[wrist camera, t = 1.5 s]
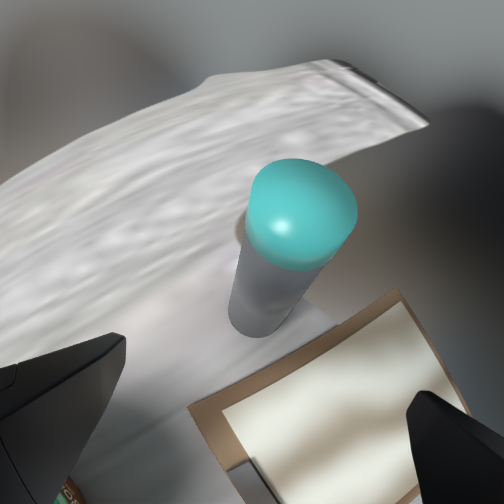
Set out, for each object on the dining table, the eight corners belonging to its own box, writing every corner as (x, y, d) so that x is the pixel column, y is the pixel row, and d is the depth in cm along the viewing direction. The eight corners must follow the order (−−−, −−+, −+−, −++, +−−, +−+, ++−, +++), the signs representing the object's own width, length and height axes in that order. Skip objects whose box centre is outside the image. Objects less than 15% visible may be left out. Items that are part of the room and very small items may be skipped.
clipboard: (474, 429, 20) (484, 427, 18) (301, 573, 13) (306, 580, 12) (392, 289, 26) (401, 282, 24) (187, 407, 19) (185, 406, 18)
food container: (142, 511, 15) (99, 568, 6) (106, 560, 12) (56, 621, 3) (10, 402, 16) (-79, 378, 8) (-18, 454, 13) (-104, 448, 5)
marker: (294, 322, 23) (377, 222, 12) (244, 349, 22) (291, 264, 10) (265, 276, 25) (317, 149, 13) (216, 299, 23) (231, 174, 12)
